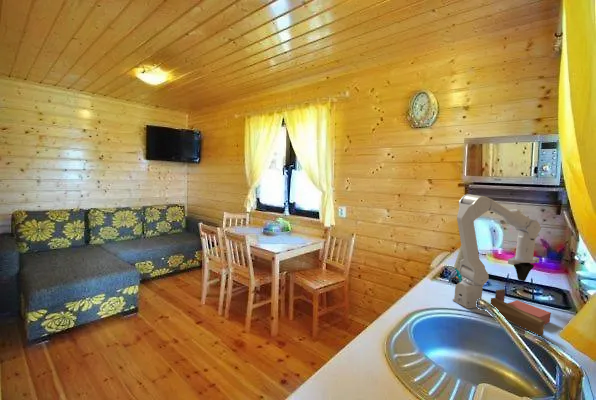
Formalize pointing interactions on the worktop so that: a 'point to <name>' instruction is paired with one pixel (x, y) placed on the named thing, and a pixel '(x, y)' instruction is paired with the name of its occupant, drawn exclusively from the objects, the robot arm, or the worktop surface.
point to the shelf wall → (519, 316)
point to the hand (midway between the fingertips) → (521, 280)
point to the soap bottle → (459, 259)
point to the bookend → (500, 294)
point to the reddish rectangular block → (532, 310)
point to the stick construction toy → (457, 275)
